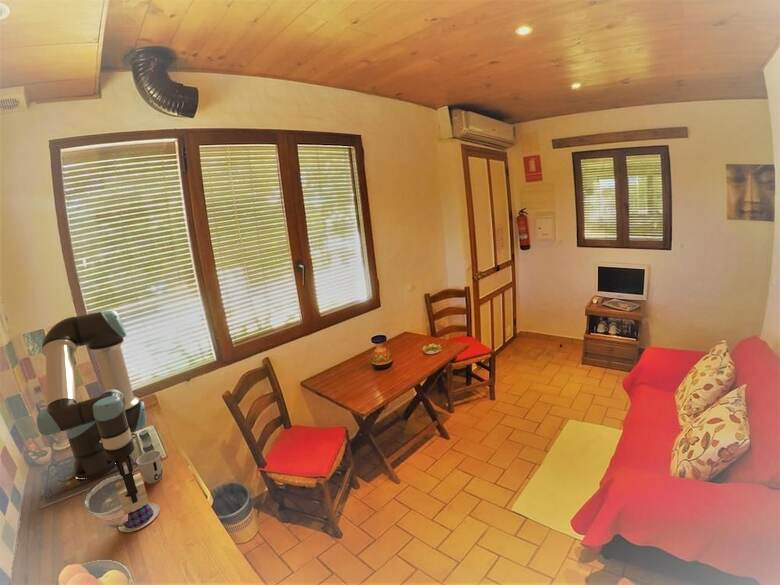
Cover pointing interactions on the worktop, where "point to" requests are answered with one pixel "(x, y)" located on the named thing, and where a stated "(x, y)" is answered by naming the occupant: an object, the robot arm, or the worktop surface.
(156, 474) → the cup
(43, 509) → the worktop surface
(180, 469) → the worktop surface
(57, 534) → the worktop surface
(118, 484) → the block
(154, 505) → the plate of blueberries
